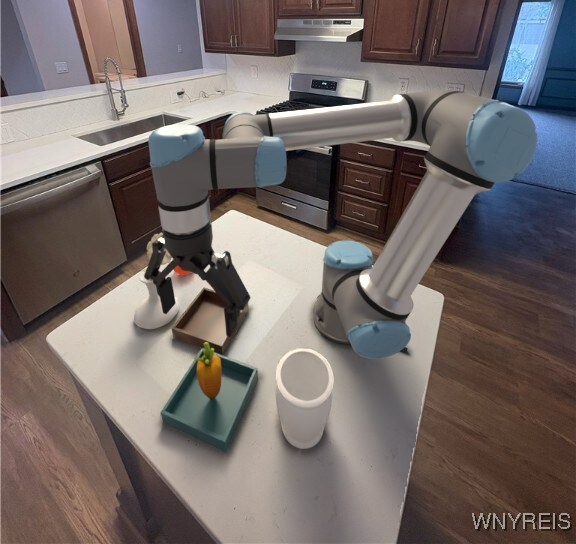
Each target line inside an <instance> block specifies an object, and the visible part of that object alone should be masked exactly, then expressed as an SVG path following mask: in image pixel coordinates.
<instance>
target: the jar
mask: <svg viewBox="0 0 576 544" xmlns="http://www.w3.org/2000/svg"><path fill="white" fill-rule="evenodd" d="M275 382H276V387H275V404H276V409H277V413H278V417H279V420H280V427H281V431H282V433H283V436H284V438H285V439H286V440H287V442H288V443H289V444H290V445H291V446H293V447H294V448H296V449H299V450H307V449H311V448H313V447H314V446H316V445H317V444H318V443H319V442H320V441H321V439H322V436H323V433H324V429H325V427H326V424H327V421H328V419H329V417H330V414H331V411H332V406H333V404H332V403H333V389H334V384H335V378H334V371H333V369H332V366H331V364H330V362H329V361H328V360H327V359H326V357H325V356H324V355H323V354H321V352H319V351H317V350H315V349H313V348H309V347H296V348H292V349H290V350H288V351H287V352H285V353H284V354H283V355H282V356H281V357H280V359H279V360H278V362H277V365H276V368H275Z"/></svg>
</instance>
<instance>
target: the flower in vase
mask: <svg viewBox="0 0 576 544" xmlns="http://www.w3.org/2000/svg"><path fill="white" fill-rule="evenodd" d="M162 235H163V232H160V233H155V234H153V236H152V237H151V239H150V241H148V242H147V245H146V255H147V260H148V262H149V261H150V258H151V255H152V253H153V250H152V243H153V242H154V241H156V240H157V239H158V238H159V237H160V236H162ZM172 259H173V258H172V257H171V255H170V254H169V253H168V251H166V253H165V256H164V258H163V261H162V263H161V266H164V265H167V264H169V263H170V262H171V261H172ZM146 269H147V268H144V269H142V270H140V272H142V273H141V274H140V275H139V279H138V280H139V281H140V282H141V283H143V284H144V285H145V286H146V288H147V292H148V296H147V297H145V298H144V299H143V300H142V301H140V303H139V304H138V305H137V307H136V309H135V310H134V311H135V312H134V314H133V320H134V322H135V324H136V326H138V327H139V328H142V329H145V330H156V329H159V328H162V327H164V326H166V325H168V324H169V323H170V322H171V321H173V320H174V318H175V317H176V316H177V314H178V312H179V310H180V301H179V299H178V298H177V297H176V296H175V295H174V297H175V302H176V304H175V305H174V306H173V307H172V308H171V309H170V311H169V312H168V313H167V314H164V313H163V310H162V305H161V300H160V296H158V294H157V289H156V285H155V284H154V283H153V280H152V279H149V280H147V279H145V277H144V275H145V272H146ZM159 271H160V269H159ZM160 272H161V271H160Z"/></svg>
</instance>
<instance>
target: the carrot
mask: <svg viewBox="0 0 576 544" xmlns="http://www.w3.org/2000/svg"><path fill="white" fill-rule="evenodd" d="M203 345H204V348H205V349H204V350H203V353H204V356H203V357H202V358H196V357H194V360H195V361H198V362H197V378H198V382H199V386H200V388H201V390H202V392H203V393H204V394H205V395H206V396H207V397H208V398H209V399H211V400H212V399H215V397H216V396H217V395H218V393H219V391H220V388H221V359H220V358H219V357H218V356H217V355H215V354H214V348H211V350H210V346H209V343H208V342H205V343H204V344H203ZM194 360H193V361H194Z"/></svg>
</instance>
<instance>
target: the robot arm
mask: <svg viewBox="0 0 576 544" xmlns="http://www.w3.org/2000/svg"><path fill="white" fill-rule="evenodd" d="M536 127H537V126H536V124H535V121H534V120H533V118H532V117H531V116H530V114H529V113H527V112H526V111H525V110H523V109H522V108H520V107H517V106H514V105H511V104H509V103H507V102H505V101H500V100H498V99H492V98H487V97H484V96H480V95H475V94H472V93H467V92H465V91H462V90H457V89H433V90H425V91H424V90H423V91H415V92H407V93H399V94H394V95H392V96H391V97H390V98H389V99H388V100H381V101H372V102H363V103H355V104H346V105H337V106H328V107H319V108H309V109H301V110H290V111H282V112H281V111H280V112H273V113H272V112H271V113H264V114H253V113H251V112H248V111H237V112H235V113H233V114H231V115H230V116H229V117H228V118H227V119H226V121H225V123H224V126H223V129H222V138H221V139H214V138H213V139H206V137H205V136H204V132H203V130H202V128H201V127H199V126H197V125H194V124H185V123H177V124H169V125H164V126H161V127H157V129H154V130H153V131H152V132H151V134H150V135H148V149H149V150H148V151H149V160H150V162H149V166H150V169H151V173H152V174H151V175H152V178H153V184H154V188H155V189H154V190H155V194H156V201H157V207H158V214H159V220H160V226H161V228H162V231H161V233H162V234H163V235H162V236H160V237H159V238H158V239H157V240H156V241H154V242H153V243H152V250H153V253H152V255H151V258H150V261H149V260H148V264H147V266H146V268H145V269H146V272H145V275H144V277H145V279H147V280H149V279H152V280H153V283H154V284H155V285H156V289H157V294H158V296H160V300H161V305H162V310H163V313H164V314H167V313H168V312H169V311H170V309H171V308H172V307H173V306H174V305H175V304H176V302H175V297H176V296H175V292H174V286H173V279H172V277H171V276H169V275H170V273H171V272H173V271H174V270H173V269H174V268H175V267H176V266H177V265H178V266H179V267H180V268H182V270H184V271H190V273H192V274H195V275H198V277H199V278H200V279H201V280H202V281H206V282H207V284H208V285H209V287H211V288H212V290H214V291H215V292H216V293H217V294H218V296H219V297H220V298H221V299H222V300H223V302H224V303H225V304H226V306H225V308H224V314H225V325H226V336H228V337H231V335H232V333H233V332H234V330H235V328H236V327H237V325H238V323H237V319H238V318H239V316H240V314H241V310H244V308H245V307H246V305H247V303H248V304H249V302H250V300H251V295H250V293H249V292H248V289H247V288H246V286H245V284H244V282H243V281H242V278H241V276H240V274H239V273H238V271H237V269H236V267H235V266H234V264H233V260H232V255H231V253H230V251H228V250H224V251H223V253H218V252H215V250H214V249H213V246H212V245H213V239H214V235H213V225H212V224H213V223H212V219H211V206H210V196H209V195H210V194H209V193H210V192H209V191H210V190H224V189H225V190H226V189H227V190H228V189H243V188H245V189H246V188H264V187H268V186H274V185H281V184H282V183H284V181H285V179H286V178H287V170H288V169H287V167H288V166H287V152H288V151H294V150H304V149H311V148H320V147H328V146H336V145H345V144H351V143H352V144H353V143H360V142H361V143H362V142H369V141H376V140H385V139H392V140H393V141H395V142H397V143H401V142H416V143H417V142H418V143H421V144H424V145H427V146H429V148H428V150H427V151H426V153H425V156H424V158H423V161H424V165H425V167H426V172H425V173H424V175H423V177H422V179H421V181H420V183H419V184H418V186H417V188H416V190H415V191H414V193H413V195H412V197H411V199H410V200H409V201H408V204H407V205H406V207H405V209H404V211H403V212H402V215H401V216H400V218H399V220H398V222H397V223H396V224H395V227H394V229H393V230H392V232H391V234H390V236H389V238H388V239H387V241H386V243H385V245H384V246H383V248H382V250H381V251H380V253H379V255H378V256H377V259H376V260H375V263H374V254H373V251H372V249H370V248H369V247H368V246H367V245H365V244H363V243H362V242H357V241H355V240H344V239H343V240H338V241H334V242H331V243H330V244H329V245H328V246H327V247H326V248H325V250H324V254H323V258H322V261H323V263H322V264H323V268H322V280H321V281H322V282H321V292H320V293H319V294H318V295H317V297H316V301H315V303H314V307H313V315H312V316H313V322H314V325H315V327H316V328H317V330H318V332H319V333H320V334H321V335H322V336H323V337H325V338H326V339H328V340H330V341H332V342H335V343H337V344H342V345H343V344H344V345H349V344H350V345H351V347H352V349H353V351H354V352H355V353H356V354H357V355H358V356H360V357H361V358H365V359H370V360H379V359H384V358H388V357H391V356H393V355H396V354H397V353H399V352H401V351H404V352H406V353H407V352H408V349H409V348H408V347H407V345H408V344H409V343H410V341H411V338H412V334H411V329H410V326H409V325H408V323H406V321H407V319H408V317H409V316H410V314H411V313H412V310H413V309H414V301H413V299H412V294H414V292H415V290H416V288H418V285H419V284H420V282H421V281H422V279H423V277H424V276H425V274H426V272H427V271H428V269H429V268H430V266H431V265H432V263H433V262H434V260H435V259H436V257H437V256H438V254H439V252H440V251H441V249H442V248H443V246H444V244H445V243H446V241H447V240H448V238H449V236H450V235H451V234H452V232H453V230H454V228H455V227H456V225H457V224H458V223H459V220H460V219H461V217H462V216H463V214H464V213H465V211H466V209H467V208H468V207H469V205H470V203H471V201H472V200H473V198H474V197H475V195H477V194H480V193H484V192H488V191H491V189H492V188H493V186H494V185H495V184H496V183H506V182H508V181H512V180H513V179H514V178H515V176H519V175H520V174H522V173H523V172H524V171H525V170H526V168H528V166H529V164H530V163H531V161H532V159H533V158H534V155H535V152H536V149H537V145H538V133H537V132H536ZM166 251H168V253H169V254H170V255H171V257H172V258H171V260H170V263H167V264H166V266H165V267H164V268H163V269H162V270H161V271H159V270H160V269H161V266H162V265H161V263H162V261H163V258H164V256H165V253H166ZM373 263H374V264H373ZM208 266H209V268H208V269H207V271H205V270H206V268H207V267H208ZM174 296H175V297H174Z"/></svg>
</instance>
